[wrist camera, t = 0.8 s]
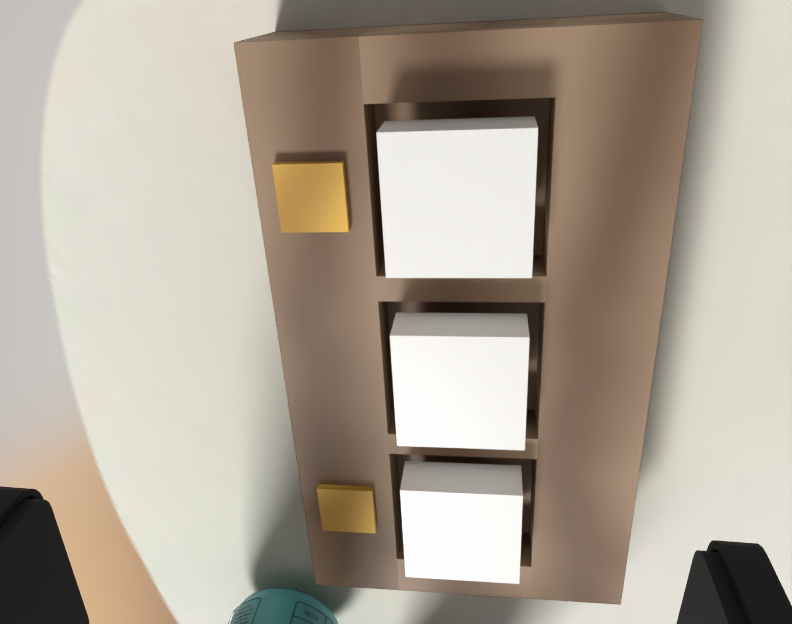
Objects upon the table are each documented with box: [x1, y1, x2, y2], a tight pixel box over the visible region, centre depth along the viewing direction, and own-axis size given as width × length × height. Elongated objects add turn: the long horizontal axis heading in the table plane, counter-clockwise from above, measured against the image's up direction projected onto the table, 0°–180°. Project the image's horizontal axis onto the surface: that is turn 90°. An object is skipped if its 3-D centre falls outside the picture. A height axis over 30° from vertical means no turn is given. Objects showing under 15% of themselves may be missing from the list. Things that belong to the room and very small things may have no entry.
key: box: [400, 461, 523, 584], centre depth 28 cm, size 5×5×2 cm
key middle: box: [390, 312, 530, 450], centre depth 25 cm, size 5×5×2 cm
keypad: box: [234, 12, 703, 605], centre depth 27 cm, size 14×24×5 cm, turn 4°
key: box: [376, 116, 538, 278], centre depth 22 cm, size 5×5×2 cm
